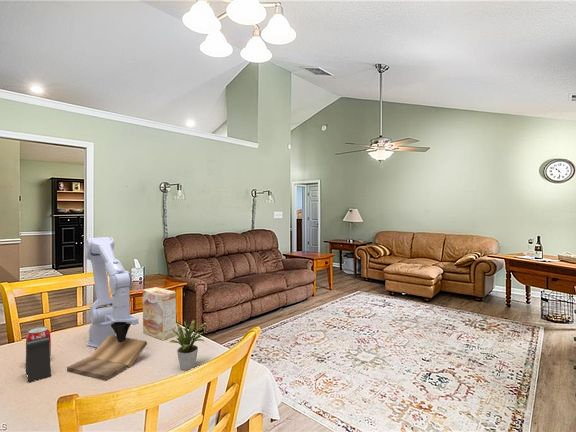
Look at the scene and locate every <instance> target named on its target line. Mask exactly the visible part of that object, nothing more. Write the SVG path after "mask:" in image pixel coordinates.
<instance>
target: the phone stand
mask: <svg viewBox="0 0 576 432" xmlns="http://www.w3.org/2000/svg"><path fill="white" fill-rule="evenodd" d="M26 374H27V375H28V378H27V377H26V379H28V380H27V383H28V382H30V383H32V382H31V381H33V382H35V381H34V380H37V381H40V380H43V378H44V379H46V378H50V377H52V367H51V357H50V351H49V337H44V338H40V339H35V340H31V341H26V340H25V375H26ZM39 379H40V380H39Z"/></svg>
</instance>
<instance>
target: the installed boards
mask: <svg viewBox="0 0 576 432" xmlns="http://www.w3.org/2000/svg"><path fill="white" fill-rule="evenodd" d="M126 370H127V367H126V365H124V364H119V363H115V362H110V361H105V360H100V359H96V358H91V357H90V356H88V357H85V358H83V359H82V360H79V361H77V362H75V363H72V364H71V365H68V366H66V372H68V373H72V374H76V375H81V376H86V377H87V378H94V379H97V380H101V381H108V380H111V379H112V378H114V377H116V376H117V375H119V374H121V373H123V372H124V371H126Z"/></svg>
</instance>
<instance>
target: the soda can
mask: <svg viewBox="0 0 576 432" xmlns="http://www.w3.org/2000/svg"><path fill="white" fill-rule="evenodd" d="M25 337H26V338H25V342H26V341H31V340H35V339H40V338H44V337H49V351H50V358H51V356H52V355H51V354H52V352H51V351H52V344H51V343H52V341H51V338H52V337H51V331H50V330H49V327H47V326H38V327H34V328H31V329H29V330H28V332H27V335H26V336H25Z"/></svg>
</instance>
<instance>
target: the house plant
mask: <svg viewBox="0 0 576 432" xmlns="http://www.w3.org/2000/svg"><path fill="white" fill-rule="evenodd" d="M183 322H184V328H182V326H181V325H180V324H179V323H178V322H177V321H176V322H175V323H176V328H177V330H178V332H179V333H178V332H177V330H176V331H174V330H172V329H171V330H172V331H174V332H175V334H176V336H177V337H176V340H175V339H172V340H170V341H169V343H175V344H179V345H180V347H179V348H177V350H176V353H177V357H178V363H179V368H180V370H183V371H190V370H192V369H191V368H193V369H194V368H195V367H196V364H197V359H198V358H197V357H198V353H199V352H198V351H199V347H198V346H197V345H196V344H195V343H196V342H197V341H199V342H201V341H202V342H205V339H202V338H201V337H202V334H204V333H205V332H204V331H203V332H199V331H200V330H202V329H206V326H205V325H206V324H207V323H209V322H205V323H202V324H201V325H199V326H198V327H197V328H196V329H194V328H195V323H196V320H194V319H192V321H191V322H190V325H189V329H188V325H187V324H186V321H185V320H183ZM189 369H190V370H189Z"/></svg>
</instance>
